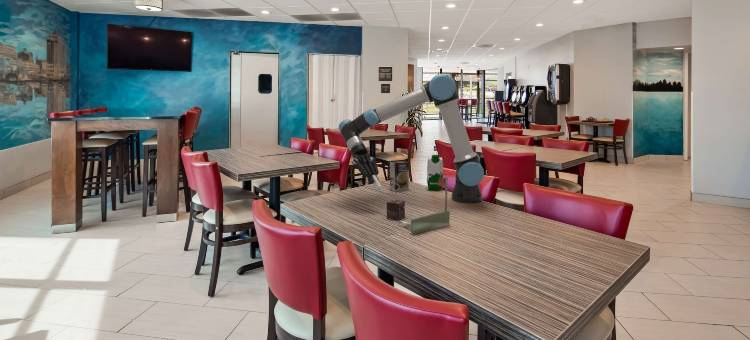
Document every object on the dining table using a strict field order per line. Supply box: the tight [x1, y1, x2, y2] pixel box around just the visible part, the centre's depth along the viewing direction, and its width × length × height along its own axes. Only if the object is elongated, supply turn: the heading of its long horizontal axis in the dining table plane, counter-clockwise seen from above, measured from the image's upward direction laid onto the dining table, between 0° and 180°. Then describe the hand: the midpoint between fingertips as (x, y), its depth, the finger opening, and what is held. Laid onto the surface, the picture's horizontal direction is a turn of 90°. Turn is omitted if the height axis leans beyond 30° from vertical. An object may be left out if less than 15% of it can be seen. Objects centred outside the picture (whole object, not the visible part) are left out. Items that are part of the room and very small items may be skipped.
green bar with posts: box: [398, 176, 451, 235], centre depth 176 cm, size 13×20×20 cm, turn 128°
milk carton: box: [426, 154, 444, 192], centre depth 245 cm, size 9×9×20 cm
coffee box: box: [389, 160, 410, 193], centre depth 244 cm, size 9×6×16 cm
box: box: [386, 199, 406, 221], centre depth 190 cm, size 6×6×7 cm
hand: (378, 188), depth 197 cm, fingers closed
